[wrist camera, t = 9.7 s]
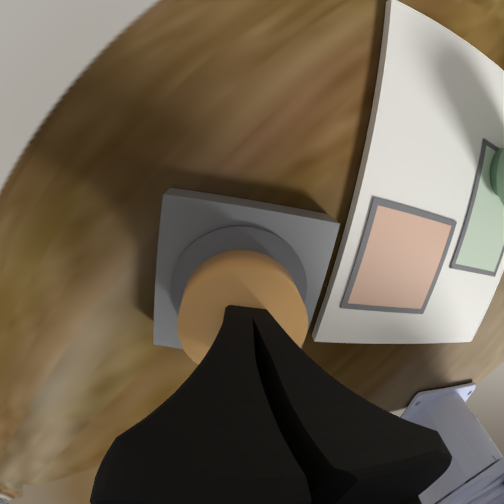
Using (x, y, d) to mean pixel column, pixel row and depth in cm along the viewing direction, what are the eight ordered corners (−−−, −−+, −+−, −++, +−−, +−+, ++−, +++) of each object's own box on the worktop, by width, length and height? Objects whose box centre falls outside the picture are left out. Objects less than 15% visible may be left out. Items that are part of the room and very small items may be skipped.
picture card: (466, 337, 18) (471, 342, 17) (311, 334, 16) (314, 342, 15) (531, 102, 12) (538, 102, 11) (386, 1, 10) (392, -3, 9)
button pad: (291, 341, 16) (298, 364, 14) (158, 325, 15) (152, 348, 13) (327, 213, 13) (342, 226, 12) (170, 187, 12) (161, 196, 11)
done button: (282, 352, 13) (289, 381, 11) (179, 341, 12) (174, 370, 10) (309, 259, 11) (323, 281, 9) (189, 241, 11) (182, 261, 9)
